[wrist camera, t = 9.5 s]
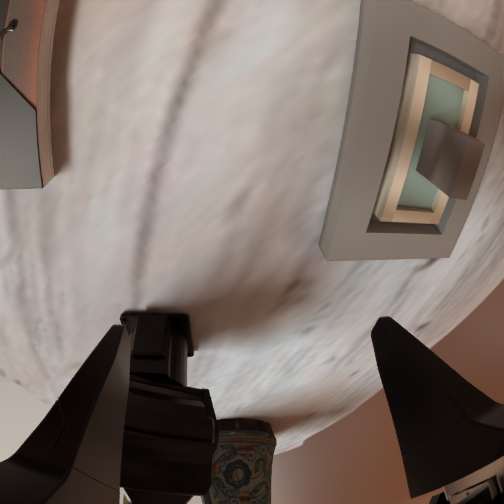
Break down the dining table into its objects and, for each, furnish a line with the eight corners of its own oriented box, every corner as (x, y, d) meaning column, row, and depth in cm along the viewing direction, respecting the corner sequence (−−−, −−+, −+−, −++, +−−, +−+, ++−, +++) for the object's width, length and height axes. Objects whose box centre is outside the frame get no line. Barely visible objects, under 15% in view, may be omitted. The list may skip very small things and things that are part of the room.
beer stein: (266, 440, 54) (283, 542, 34) (174, 442, 50) (180, 548, 31) (282, 413, 44) (307, 547, 24) (164, 416, 41) (169, 557, 21)
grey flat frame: (438, 244, 24) (449, 257, 23) (318, 244, 23) (326, 260, 21) (492, 56, 13) (509, 61, 11) (361, -9, 11) (377, -14, 10)
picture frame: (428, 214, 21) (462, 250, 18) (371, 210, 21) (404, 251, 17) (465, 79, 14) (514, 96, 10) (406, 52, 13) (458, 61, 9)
